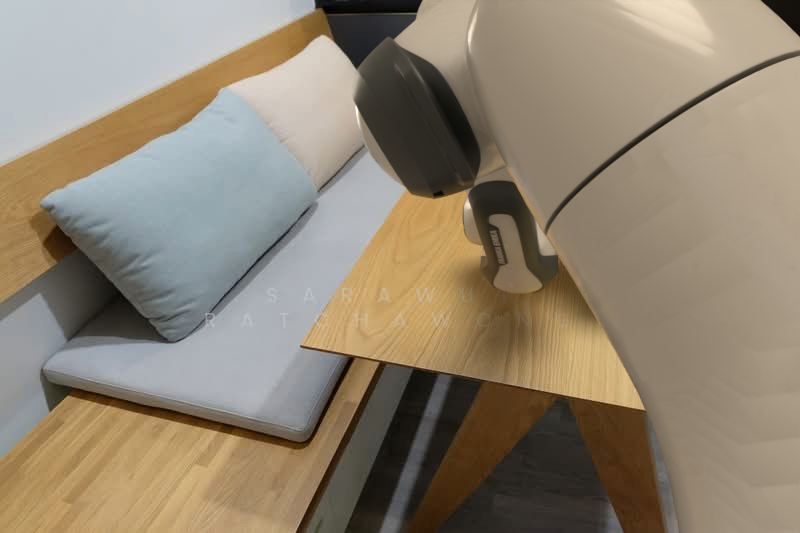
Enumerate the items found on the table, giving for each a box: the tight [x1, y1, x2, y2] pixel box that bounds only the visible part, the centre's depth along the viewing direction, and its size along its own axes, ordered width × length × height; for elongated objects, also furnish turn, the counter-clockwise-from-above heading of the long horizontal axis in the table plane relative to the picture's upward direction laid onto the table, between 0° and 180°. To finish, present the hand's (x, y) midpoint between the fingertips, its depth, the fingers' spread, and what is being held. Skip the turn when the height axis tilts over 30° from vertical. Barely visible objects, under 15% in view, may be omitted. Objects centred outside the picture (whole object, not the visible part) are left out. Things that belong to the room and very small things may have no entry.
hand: (675, 222), depth 74 cm, fingers closed on doll, 6 cm apart
